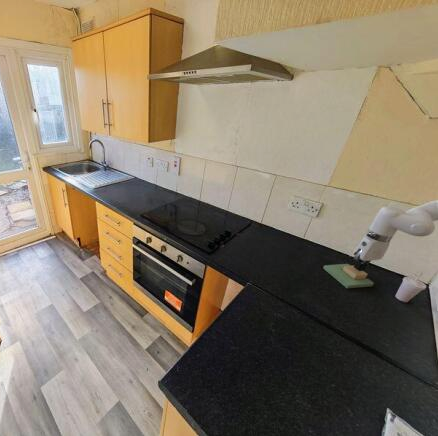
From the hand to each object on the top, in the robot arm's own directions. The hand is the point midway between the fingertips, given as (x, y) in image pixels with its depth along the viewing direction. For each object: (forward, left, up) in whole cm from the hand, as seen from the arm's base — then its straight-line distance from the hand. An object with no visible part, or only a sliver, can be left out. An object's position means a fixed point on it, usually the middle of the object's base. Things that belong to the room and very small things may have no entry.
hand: (358, 269), depth 103 cm
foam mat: (+3, 0, -5) cm, 6 cm away
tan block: (0, 0, -5) cm, 5 cm away
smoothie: (-9, +14, -5) cm, 17 cm away
